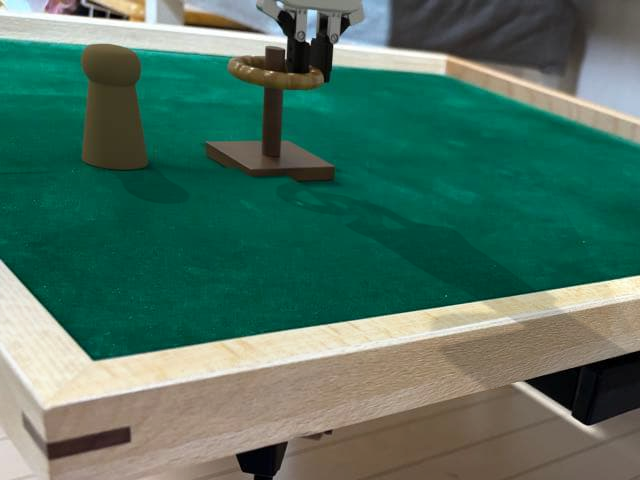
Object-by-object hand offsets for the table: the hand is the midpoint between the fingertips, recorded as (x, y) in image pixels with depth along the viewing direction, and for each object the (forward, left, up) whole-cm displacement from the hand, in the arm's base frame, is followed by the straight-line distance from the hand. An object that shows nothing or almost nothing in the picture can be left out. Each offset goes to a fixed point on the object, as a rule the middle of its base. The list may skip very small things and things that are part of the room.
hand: (308, 78), depth 95 cm
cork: (-19, +4, -10) cm, 22 cm away
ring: (-4, 0, 0) cm, 4 cm away
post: (-4, 0, -10) cm, 10 cm away
